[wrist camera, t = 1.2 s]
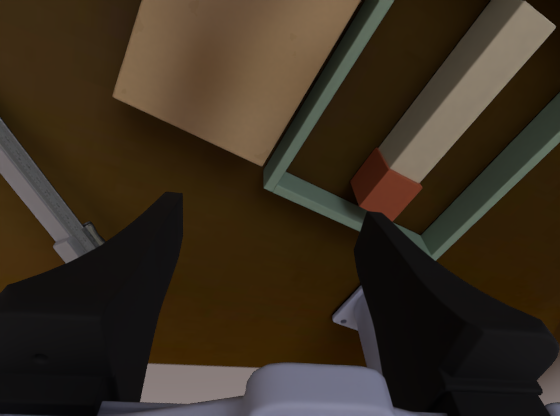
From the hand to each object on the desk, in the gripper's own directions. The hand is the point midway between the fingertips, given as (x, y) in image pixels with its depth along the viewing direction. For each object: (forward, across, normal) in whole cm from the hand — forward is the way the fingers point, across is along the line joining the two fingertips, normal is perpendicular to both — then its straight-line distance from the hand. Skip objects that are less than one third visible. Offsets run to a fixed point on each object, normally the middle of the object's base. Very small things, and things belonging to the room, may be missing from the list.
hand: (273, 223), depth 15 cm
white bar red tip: (+9, -9, -2) cm, 13 cm away
